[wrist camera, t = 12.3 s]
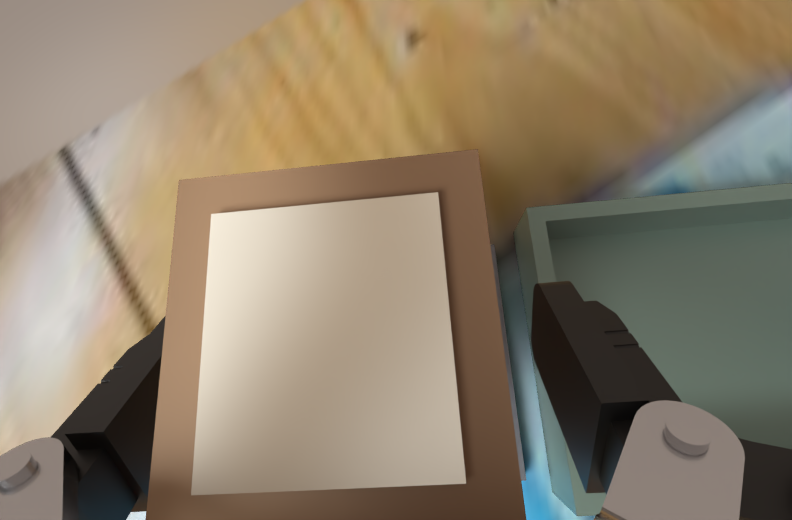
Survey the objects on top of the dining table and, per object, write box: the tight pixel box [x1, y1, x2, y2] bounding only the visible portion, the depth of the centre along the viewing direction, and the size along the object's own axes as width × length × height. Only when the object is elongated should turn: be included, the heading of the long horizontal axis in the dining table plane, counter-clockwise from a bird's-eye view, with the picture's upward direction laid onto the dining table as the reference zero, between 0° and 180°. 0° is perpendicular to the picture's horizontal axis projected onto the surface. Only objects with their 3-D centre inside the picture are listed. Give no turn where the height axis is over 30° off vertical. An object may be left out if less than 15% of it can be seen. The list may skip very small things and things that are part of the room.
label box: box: [146, 149, 526, 520], centre depth 11 cm, size 5×6×11 cm
